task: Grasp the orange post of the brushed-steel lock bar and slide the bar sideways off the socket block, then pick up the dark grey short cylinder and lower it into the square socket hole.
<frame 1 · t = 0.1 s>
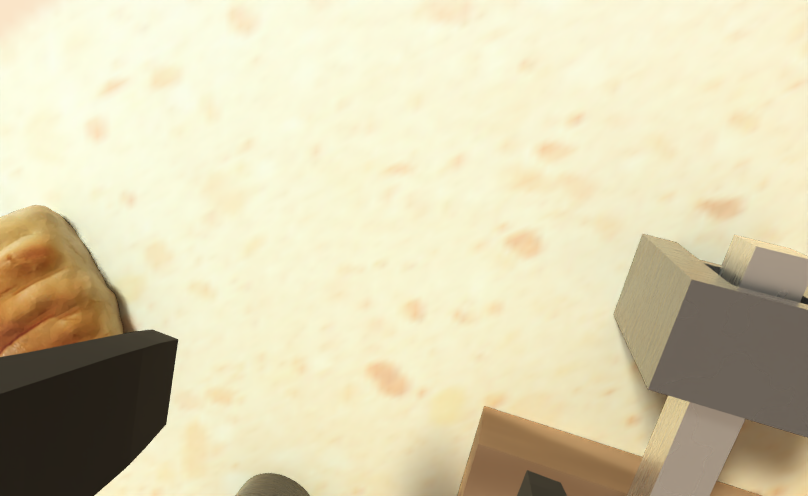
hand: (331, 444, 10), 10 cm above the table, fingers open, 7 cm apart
pastry: (71, 296, 24), on the table
pin mount: (693, 292, 17), on the table
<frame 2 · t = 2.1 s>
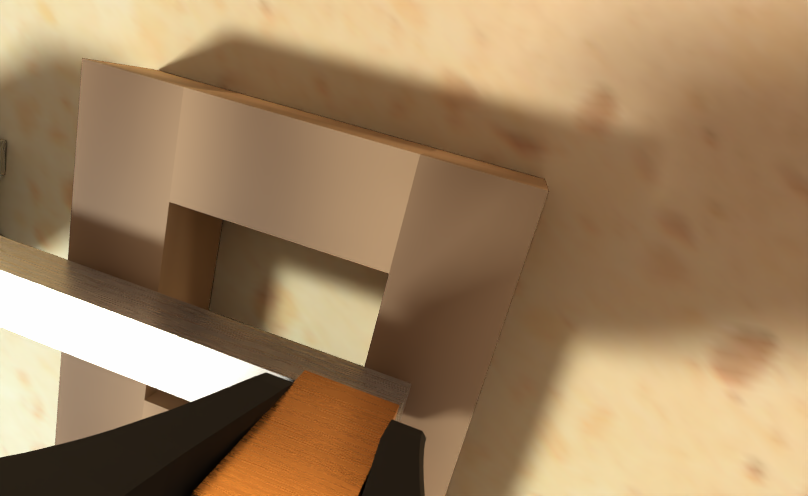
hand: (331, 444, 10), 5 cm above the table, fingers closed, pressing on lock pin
socket block: (298, 308, 15), on the table
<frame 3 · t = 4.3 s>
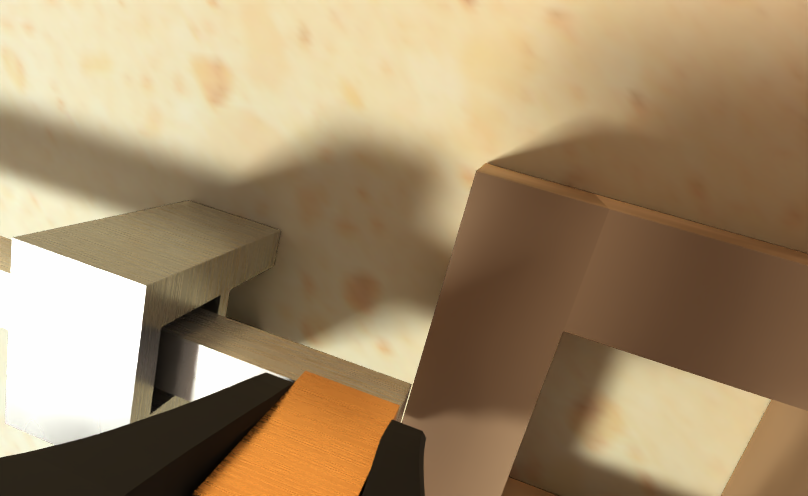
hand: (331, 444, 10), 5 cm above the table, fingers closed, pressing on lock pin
socket block: (626, 423, 13), on the table
pin mount: (222, 282, 15), on the table
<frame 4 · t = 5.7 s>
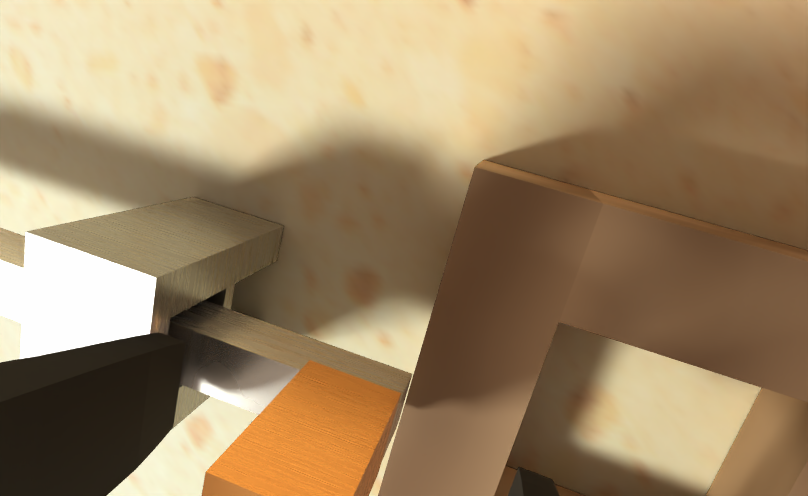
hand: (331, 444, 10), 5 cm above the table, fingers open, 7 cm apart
socket block: (621, 413, 14), on the table
pin mount: (226, 277, 16), on the table
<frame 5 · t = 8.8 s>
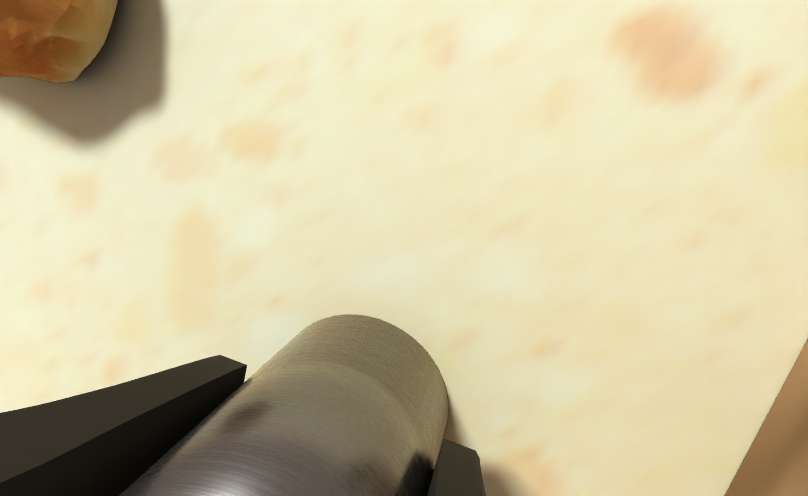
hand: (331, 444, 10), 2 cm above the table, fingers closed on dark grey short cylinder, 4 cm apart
dark grey short cylinder: (359, 399, 11), on the table, touching gripper
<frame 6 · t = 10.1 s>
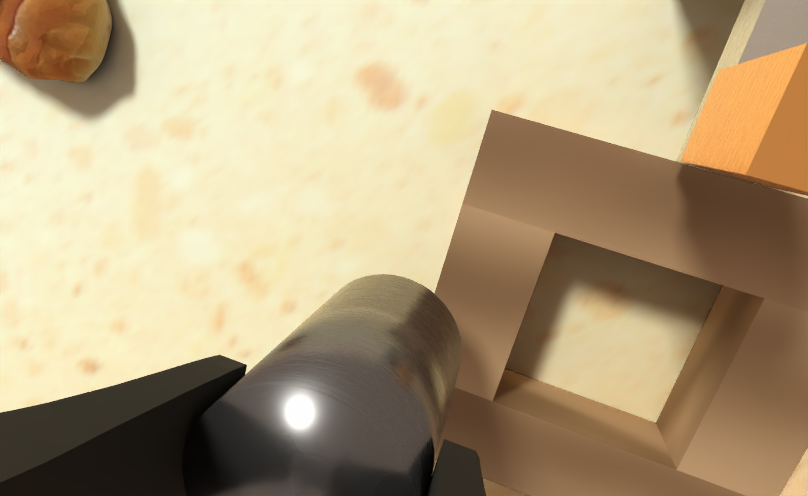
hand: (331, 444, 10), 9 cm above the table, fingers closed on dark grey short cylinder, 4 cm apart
socket block: (604, 322, 17), on the table
dark grey short cylinder: (388, 345, 14), point 5 cm above the table, touching gripper
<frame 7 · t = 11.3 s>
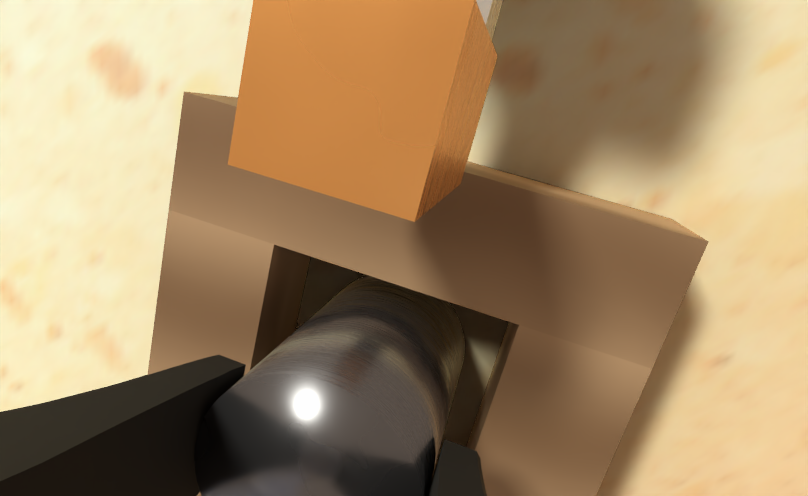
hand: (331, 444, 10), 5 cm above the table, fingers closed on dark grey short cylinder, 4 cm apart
socket block: (389, 349, 14), on the table
dark grey short cylinder: (392, 342, 14), resting in socket block, touching gripper
when the fingers open (3 cm above the table, at t = 12.0 s): dark grey short cylinder stays where it is, resting in socket block.
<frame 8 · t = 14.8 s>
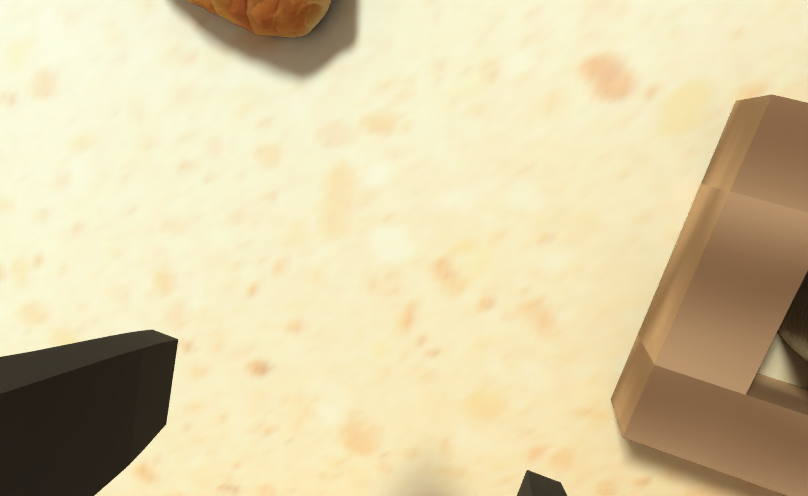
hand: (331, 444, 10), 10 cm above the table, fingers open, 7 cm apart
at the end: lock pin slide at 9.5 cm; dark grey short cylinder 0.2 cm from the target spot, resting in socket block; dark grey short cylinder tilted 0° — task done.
